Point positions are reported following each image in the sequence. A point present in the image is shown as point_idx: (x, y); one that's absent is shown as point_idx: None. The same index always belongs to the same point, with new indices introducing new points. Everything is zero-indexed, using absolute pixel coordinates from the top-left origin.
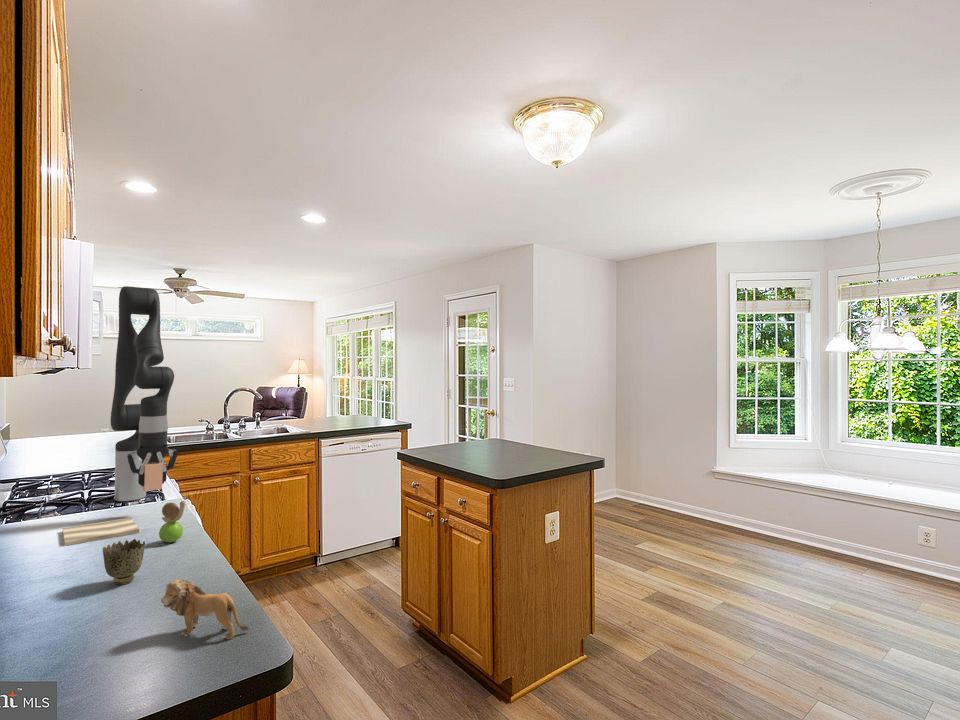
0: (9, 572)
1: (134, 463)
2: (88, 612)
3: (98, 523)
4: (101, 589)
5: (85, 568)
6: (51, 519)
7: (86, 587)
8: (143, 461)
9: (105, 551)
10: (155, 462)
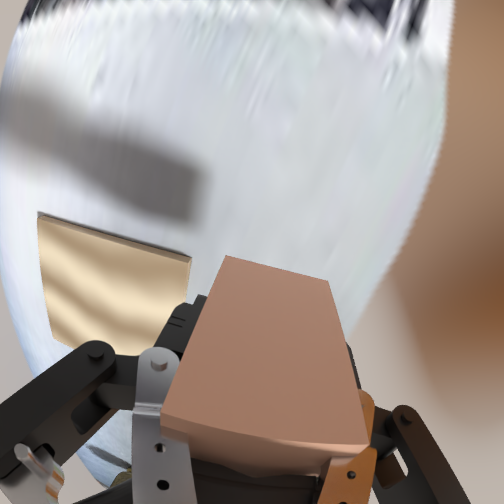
0: (31, 370)
1: (76, 450)
2: (115, 473)
3: (98, 249)
4: (119, 464)
5: (99, 429)
6: (58, 38)
7: (108, 455)
8: (153, 456)
9: (111, 486)
10: (289, 465)
